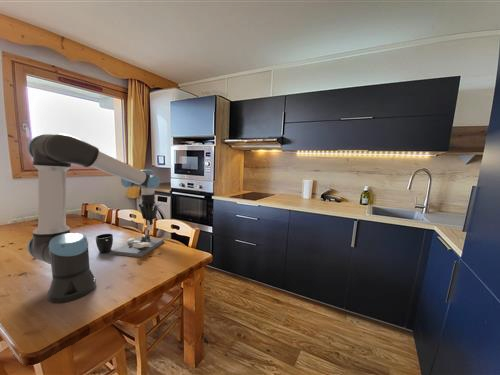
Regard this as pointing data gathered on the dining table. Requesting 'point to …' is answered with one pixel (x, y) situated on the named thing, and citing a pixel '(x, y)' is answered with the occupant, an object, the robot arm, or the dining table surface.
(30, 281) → the dining table surface
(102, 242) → the mug
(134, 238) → the button
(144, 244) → the rocker
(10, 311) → the dining table surface
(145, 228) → the lever
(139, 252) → the panel
